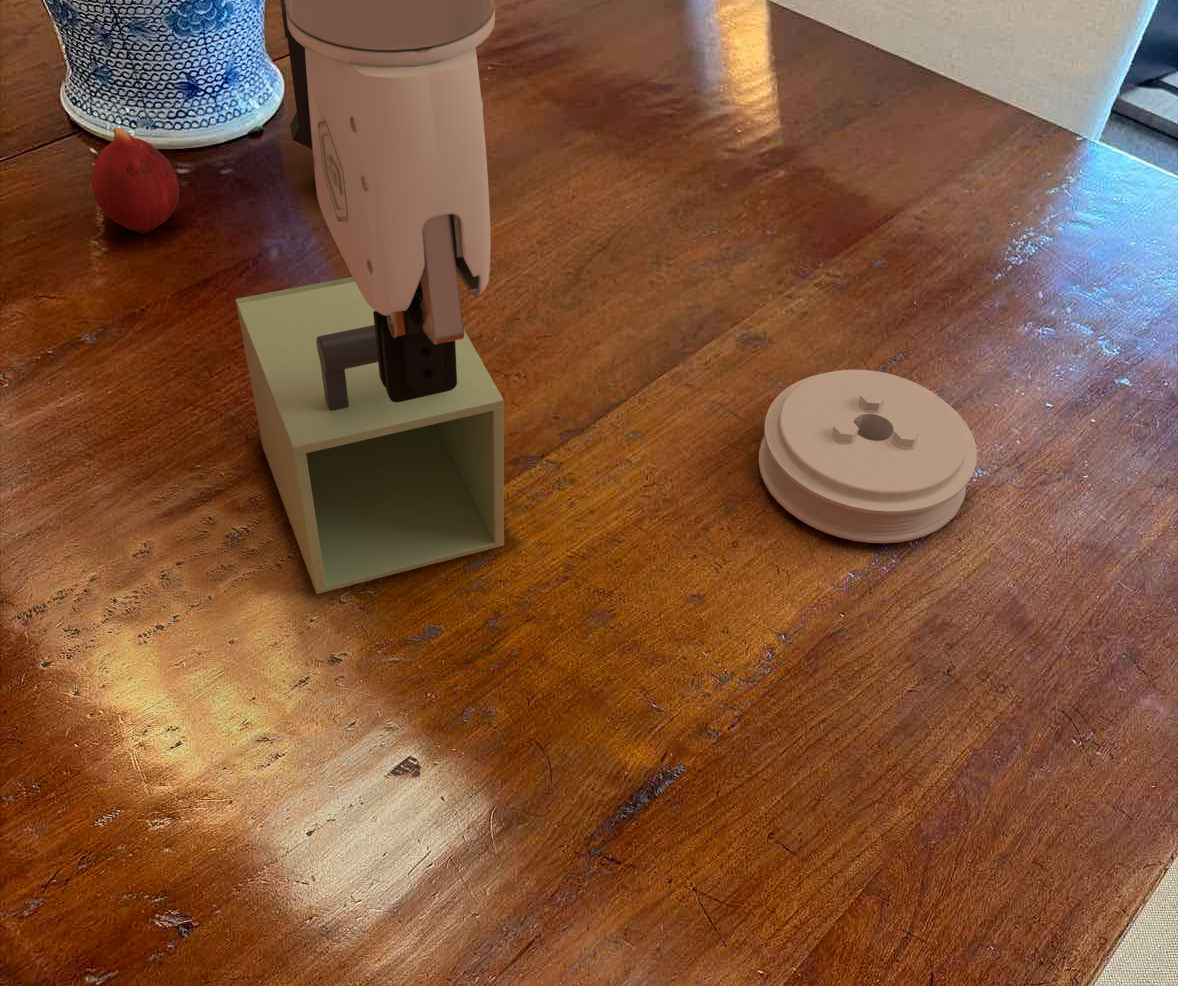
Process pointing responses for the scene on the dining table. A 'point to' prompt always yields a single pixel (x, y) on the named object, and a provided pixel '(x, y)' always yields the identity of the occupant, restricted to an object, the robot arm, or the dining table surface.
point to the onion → (134, 183)
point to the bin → (369, 441)
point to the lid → (866, 456)
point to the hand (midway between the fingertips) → (418, 385)
